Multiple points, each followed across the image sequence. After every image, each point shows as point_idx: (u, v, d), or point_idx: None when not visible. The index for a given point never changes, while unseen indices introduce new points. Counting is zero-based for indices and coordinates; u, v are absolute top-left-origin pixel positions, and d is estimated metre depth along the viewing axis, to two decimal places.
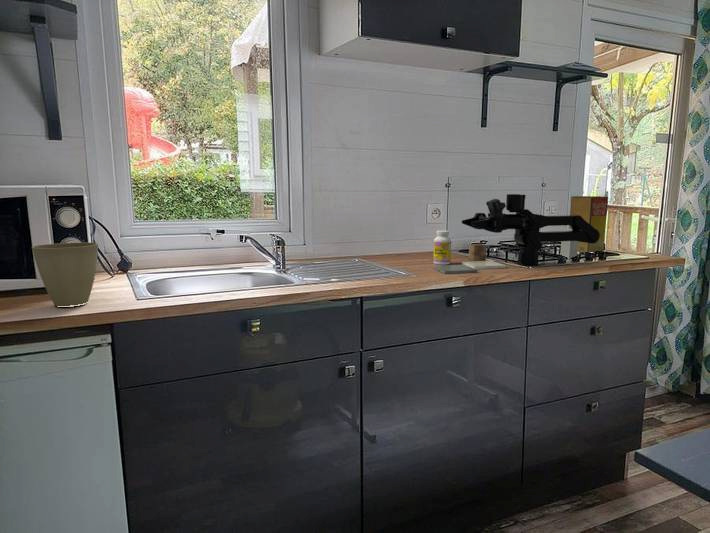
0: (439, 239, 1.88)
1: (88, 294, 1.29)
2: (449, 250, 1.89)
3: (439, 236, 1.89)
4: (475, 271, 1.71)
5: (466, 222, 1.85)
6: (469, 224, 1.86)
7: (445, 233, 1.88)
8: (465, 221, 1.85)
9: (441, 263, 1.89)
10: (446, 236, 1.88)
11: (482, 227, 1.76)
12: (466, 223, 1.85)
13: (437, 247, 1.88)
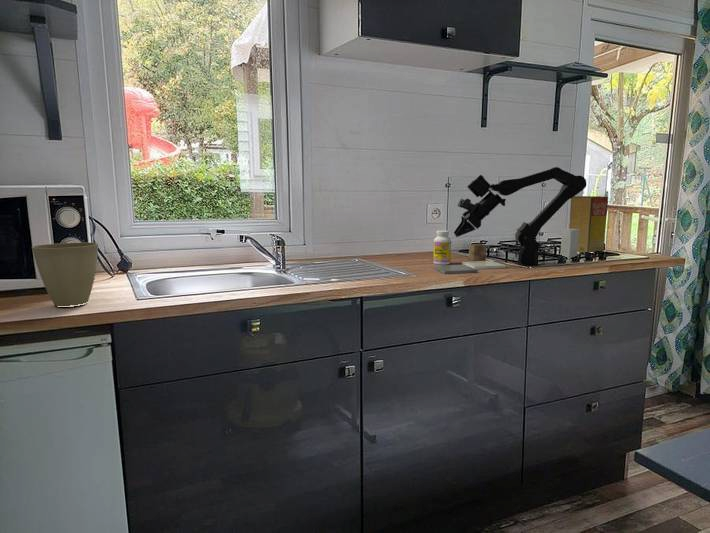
0: (439, 239, 1.88)
1: (88, 294, 1.29)
2: (449, 250, 1.89)
3: (439, 236, 1.89)
4: (475, 271, 1.71)
5: (458, 231, 1.93)
6: None
7: (445, 233, 1.88)
8: (456, 231, 1.93)
9: (441, 263, 1.89)
10: (446, 236, 1.88)
11: (465, 232, 1.83)
12: None
13: (437, 247, 1.88)
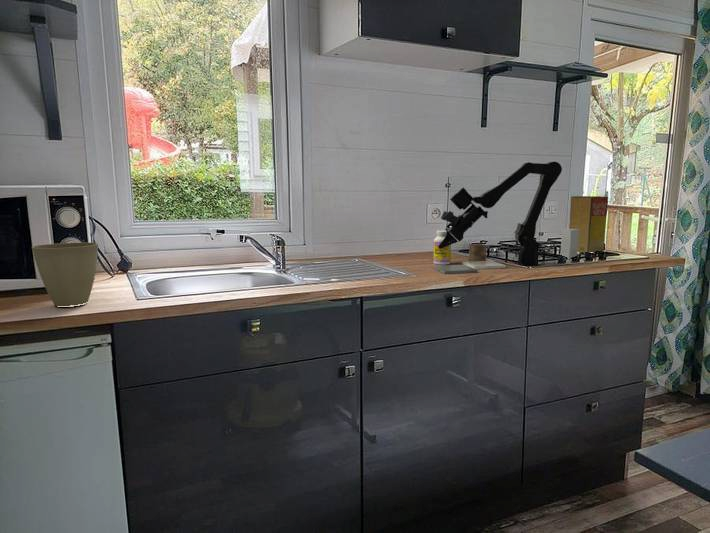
0: (439, 239, 1.88)
1: (88, 294, 1.29)
2: (449, 250, 1.89)
3: (439, 236, 1.89)
4: (475, 271, 1.71)
5: None
6: None
7: (445, 233, 1.88)
8: None
9: (441, 263, 1.89)
10: None
11: (448, 244, 1.86)
12: None
13: (437, 246, 1.88)
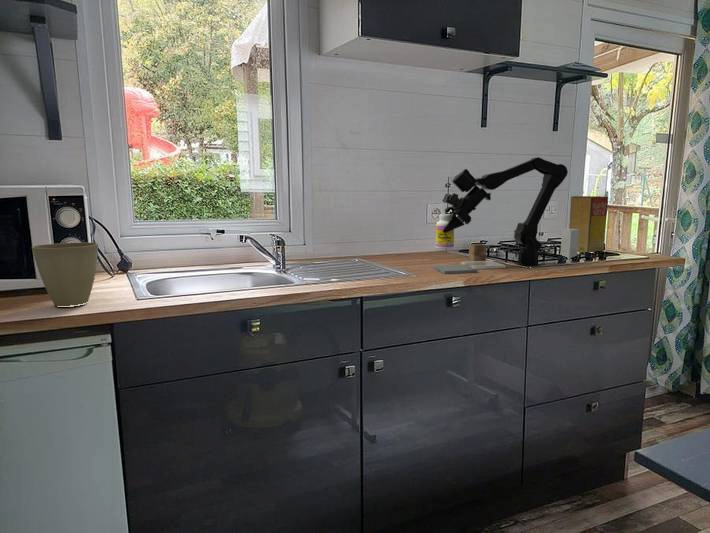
0: (443, 223, 1.80)
1: (88, 294, 1.29)
2: (453, 234, 1.82)
3: (443, 220, 1.81)
4: (475, 271, 1.71)
5: None
6: None
7: (449, 216, 1.81)
8: None
9: (446, 248, 1.82)
10: None
11: (453, 227, 1.79)
12: None
13: (441, 231, 1.81)
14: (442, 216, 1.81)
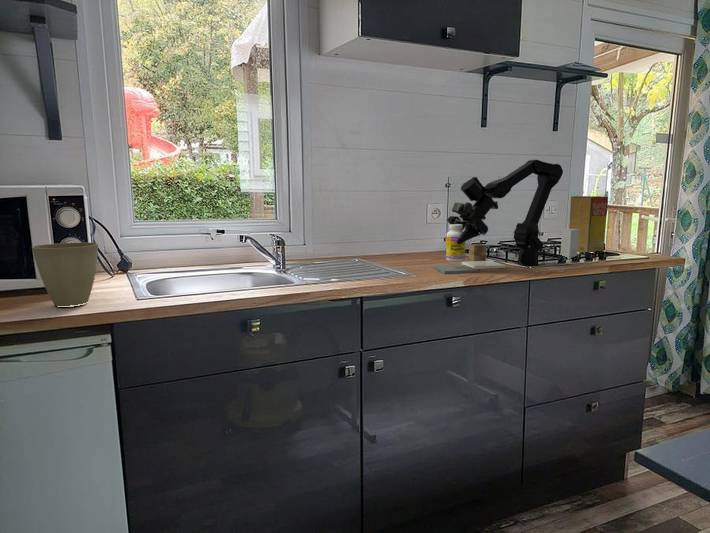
0: (457, 234, 1.71)
1: (88, 294, 1.29)
2: None
3: (455, 230, 1.72)
4: (475, 271, 1.71)
5: None
6: None
7: (461, 227, 1.72)
8: None
9: (459, 260, 1.73)
10: (461, 230, 1.73)
11: (468, 238, 1.71)
12: None
13: (455, 242, 1.71)
14: (455, 226, 1.72)
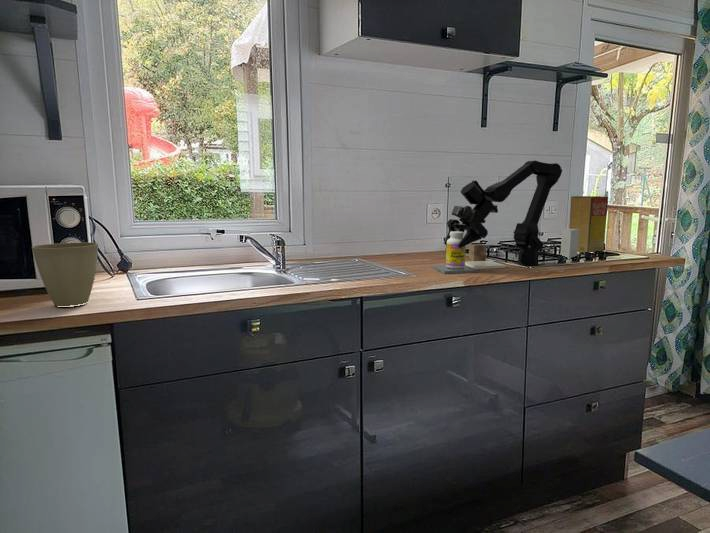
0: (457, 241, 1.71)
1: (88, 294, 1.29)
2: None
3: (456, 238, 1.72)
4: (475, 271, 1.71)
5: None
6: None
7: (462, 234, 1.72)
8: None
9: (459, 267, 1.73)
10: (462, 237, 1.73)
11: (469, 242, 1.70)
12: None
13: (455, 249, 1.72)
14: (455, 234, 1.72)
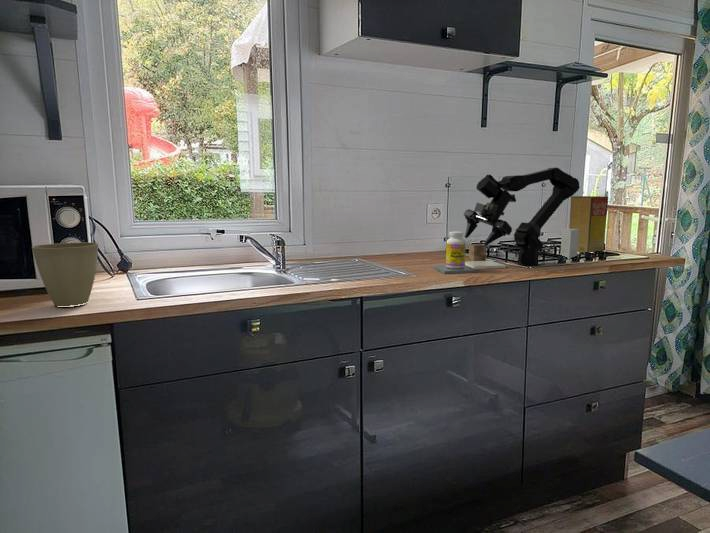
0: (457, 241, 1.71)
1: (88, 294, 1.29)
2: None
3: (455, 238, 1.72)
4: (475, 271, 1.71)
5: (468, 234, 1.82)
6: (471, 232, 1.83)
7: (461, 234, 1.72)
8: (467, 234, 1.82)
9: (459, 267, 1.73)
10: (461, 237, 1.73)
11: (494, 239, 1.75)
12: (469, 234, 1.82)
13: (455, 249, 1.72)
14: (455, 234, 1.72)
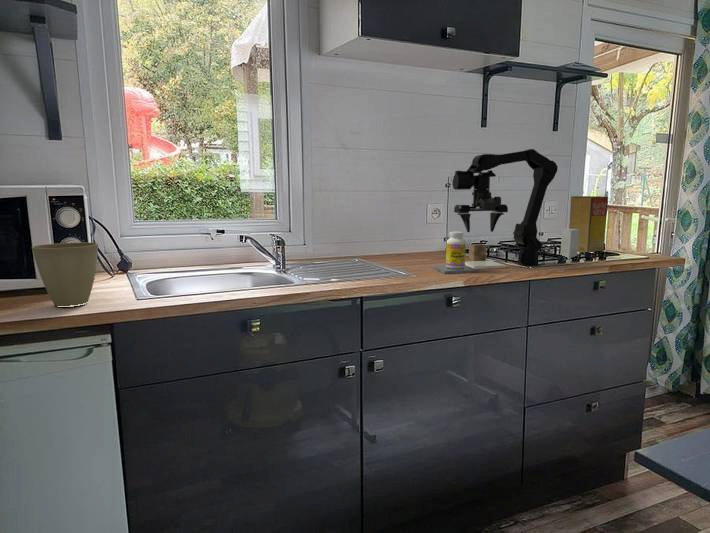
0: (457, 241, 1.71)
1: (88, 294, 1.29)
2: None
3: (455, 238, 1.72)
4: (475, 271, 1.71)
5: None
6: None
7: (462, 234, 1.72)
8: None
9: (459, 267, 1.73)
10: (462, 238, 1.73)
11: None
12: None
13: (455, 249, 1.72)
14: (455, 234, 1.72)
